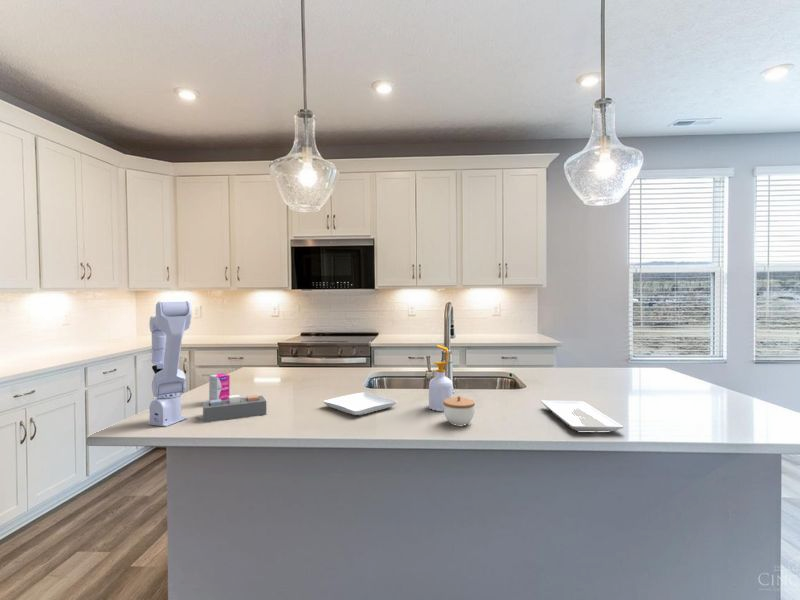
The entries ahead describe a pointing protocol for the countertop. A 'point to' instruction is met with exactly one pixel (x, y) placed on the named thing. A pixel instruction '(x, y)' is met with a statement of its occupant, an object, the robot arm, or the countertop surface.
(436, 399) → the soap bottle
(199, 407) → the countertop surface
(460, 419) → the lidded jar
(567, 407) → the tray
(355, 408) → the salad plate
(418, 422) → the countertop surface
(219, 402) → the slate key
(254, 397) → the terracotta key
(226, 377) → the supplement box
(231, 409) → the grey socket block
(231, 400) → the white key
